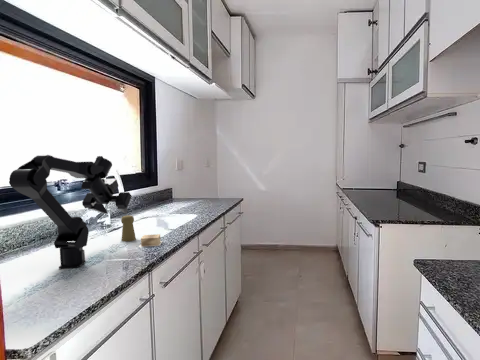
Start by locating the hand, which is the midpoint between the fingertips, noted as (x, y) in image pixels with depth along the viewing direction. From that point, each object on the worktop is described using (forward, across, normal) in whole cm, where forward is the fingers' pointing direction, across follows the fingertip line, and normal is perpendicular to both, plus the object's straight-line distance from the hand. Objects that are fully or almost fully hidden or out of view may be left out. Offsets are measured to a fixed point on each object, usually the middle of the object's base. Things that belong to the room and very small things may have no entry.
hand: (116, 213), depth 146 cm
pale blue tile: (+10, -11, +8) cm, 17 cm away
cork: (+15, 0, +4) cm, 16 cm away
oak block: (+10, -14, +8) cm, 19 cm away
